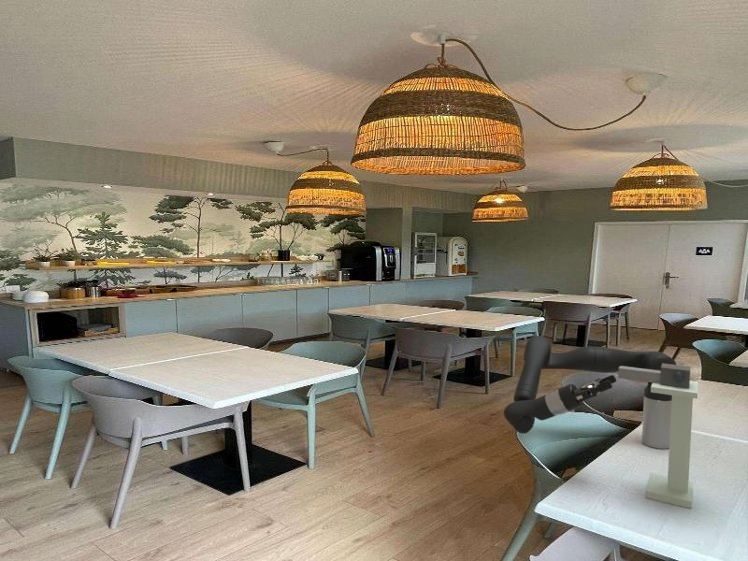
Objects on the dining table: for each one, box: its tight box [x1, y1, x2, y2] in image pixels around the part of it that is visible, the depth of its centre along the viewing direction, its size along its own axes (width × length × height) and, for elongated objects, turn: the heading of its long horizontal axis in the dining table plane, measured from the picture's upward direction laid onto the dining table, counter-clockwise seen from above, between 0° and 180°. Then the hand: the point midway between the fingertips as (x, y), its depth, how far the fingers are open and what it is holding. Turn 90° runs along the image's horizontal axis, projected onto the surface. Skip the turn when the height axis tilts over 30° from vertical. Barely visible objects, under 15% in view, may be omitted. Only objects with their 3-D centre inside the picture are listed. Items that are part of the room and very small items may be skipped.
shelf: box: [645, 380, 699, 509], centre depth 147 cm, size 14×11×32 cm
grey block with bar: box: [617, 363, 691, 389], centre depth 149 cm, size 7×18×5 cm, turn 57°
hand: (612, 380), depth 154 cm, fingers open, 8 cm apart
